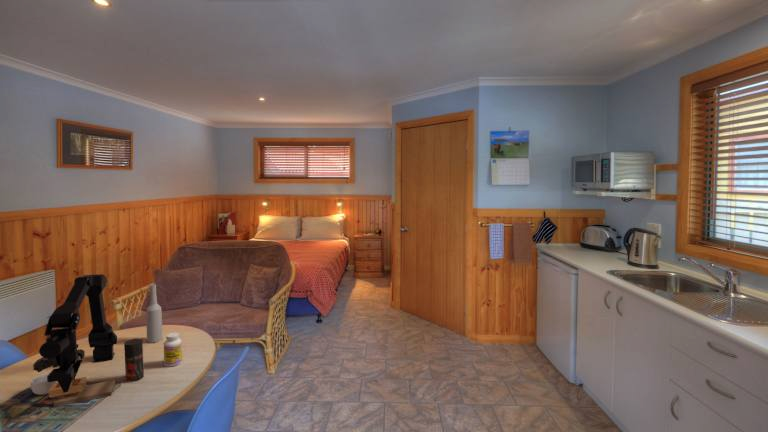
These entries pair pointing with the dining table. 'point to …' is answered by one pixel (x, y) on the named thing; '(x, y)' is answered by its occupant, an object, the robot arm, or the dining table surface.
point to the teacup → (41, 384)
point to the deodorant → (134, 360)
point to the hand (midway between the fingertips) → (68, 387)
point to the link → (76, 386)
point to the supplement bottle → (172, 350)
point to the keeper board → (87, 393)
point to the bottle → (154, 318)
